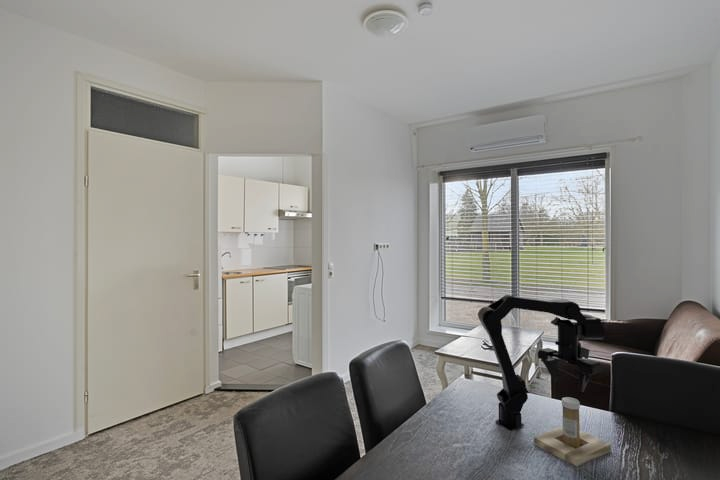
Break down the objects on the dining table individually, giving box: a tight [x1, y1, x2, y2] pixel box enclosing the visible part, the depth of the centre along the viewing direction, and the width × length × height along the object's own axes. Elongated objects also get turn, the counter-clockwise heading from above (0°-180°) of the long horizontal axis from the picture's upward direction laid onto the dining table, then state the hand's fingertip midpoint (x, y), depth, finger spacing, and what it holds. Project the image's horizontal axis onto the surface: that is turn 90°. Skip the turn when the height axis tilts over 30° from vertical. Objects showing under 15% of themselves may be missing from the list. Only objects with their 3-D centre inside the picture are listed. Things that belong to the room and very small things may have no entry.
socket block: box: [533, 425, 612, 468], centre depth 108 cm, size 13×16×2 cm
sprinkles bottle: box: [561, 396, 581, 449], centre depth 108 cm, size 5×5×14 cm
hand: (568, 386), depth 120 cm, fingers open, 9 cm apart
